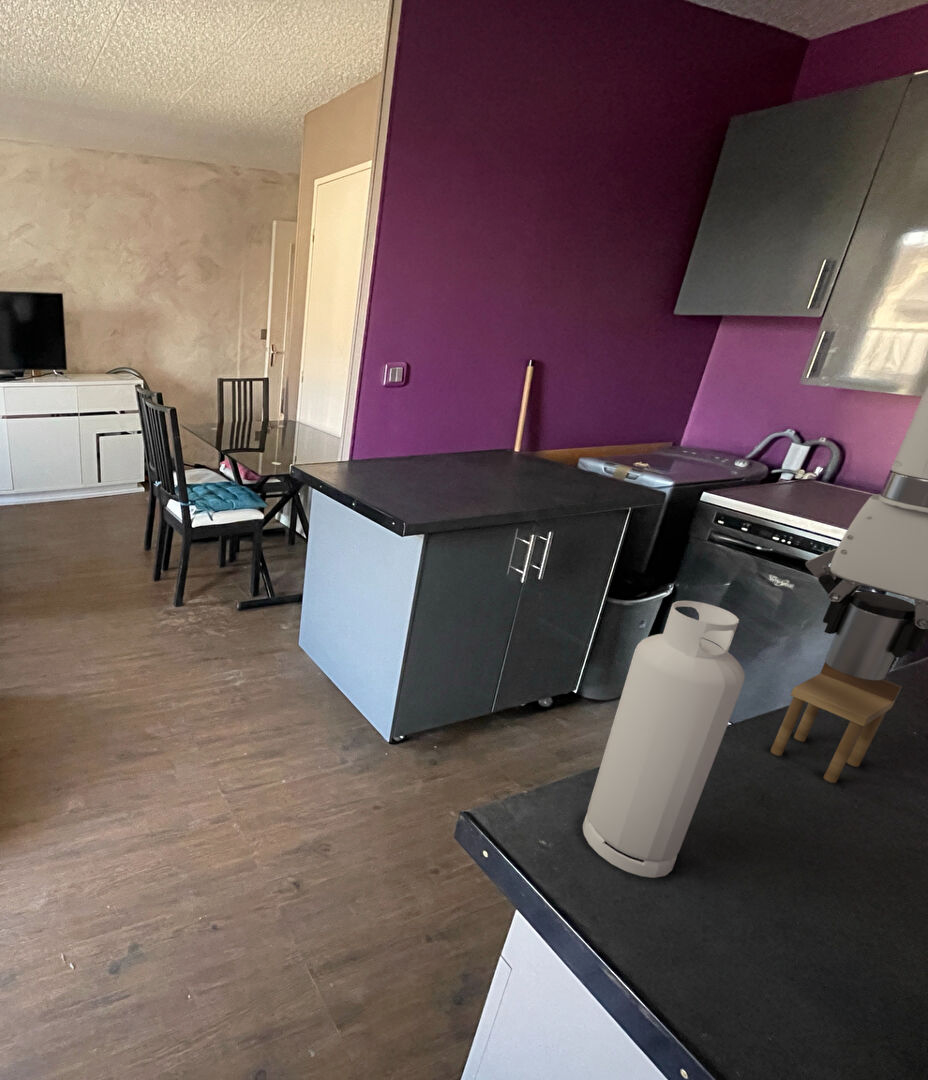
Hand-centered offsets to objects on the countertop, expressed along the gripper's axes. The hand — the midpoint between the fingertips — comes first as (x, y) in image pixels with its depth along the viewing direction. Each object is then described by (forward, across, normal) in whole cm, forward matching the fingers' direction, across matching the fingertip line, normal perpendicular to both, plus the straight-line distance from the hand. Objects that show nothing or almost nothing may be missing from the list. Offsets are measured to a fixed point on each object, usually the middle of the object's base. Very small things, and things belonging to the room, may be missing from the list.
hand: (866, 640), depth 68 cm
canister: (+4, 0, 0) cm, 4 cm away
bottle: (+18, +2, +35) cm, 39 cm away
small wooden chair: (+17, 0, 0) cm, 17 cm away
